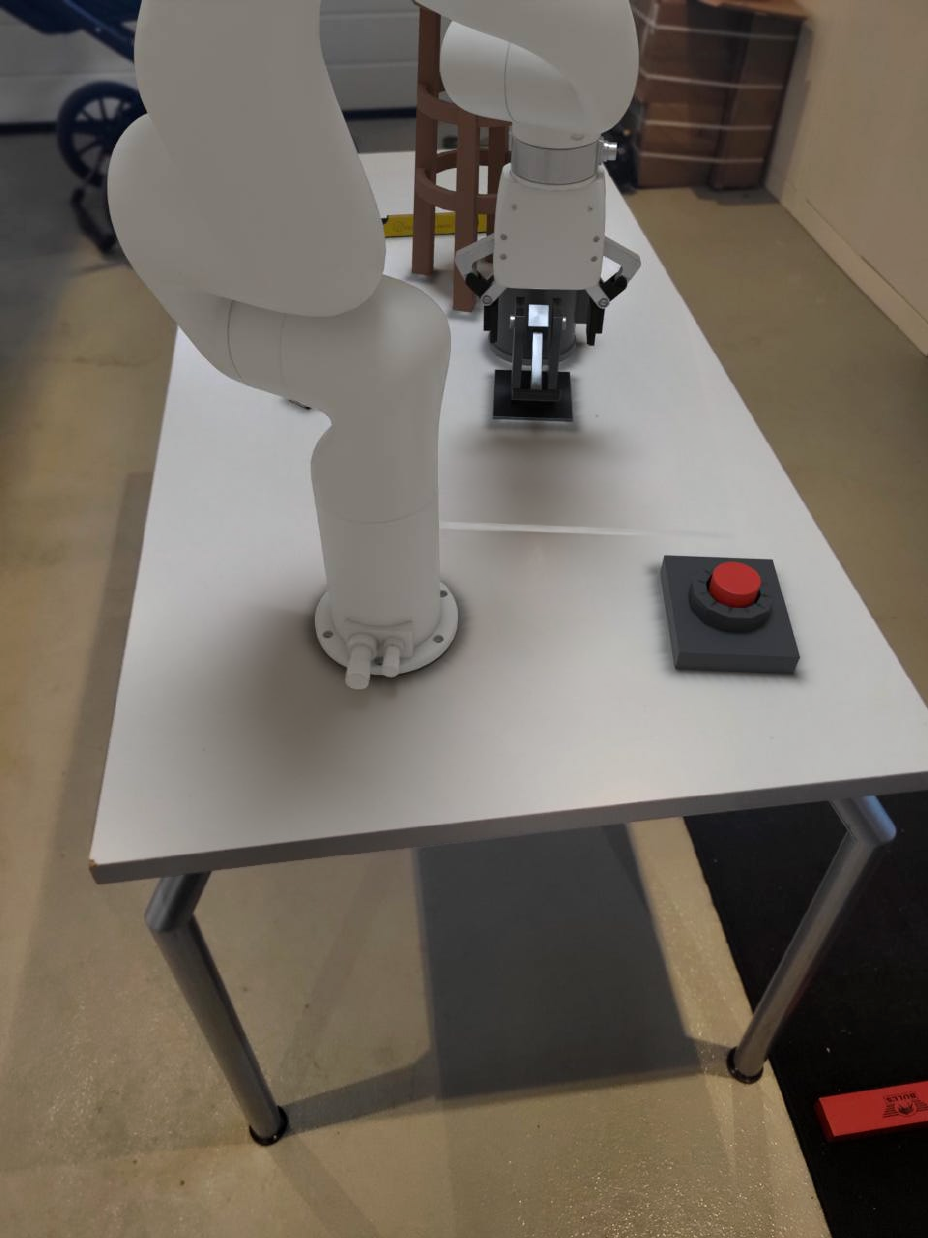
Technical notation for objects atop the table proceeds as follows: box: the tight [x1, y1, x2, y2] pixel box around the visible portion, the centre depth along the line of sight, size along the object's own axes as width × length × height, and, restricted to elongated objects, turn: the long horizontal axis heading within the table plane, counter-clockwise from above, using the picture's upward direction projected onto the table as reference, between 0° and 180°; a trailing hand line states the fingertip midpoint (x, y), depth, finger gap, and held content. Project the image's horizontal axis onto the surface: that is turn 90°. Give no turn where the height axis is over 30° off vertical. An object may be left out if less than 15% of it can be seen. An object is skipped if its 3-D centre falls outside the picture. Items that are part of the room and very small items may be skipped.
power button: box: [709, 562, 761, 608], centre depth 76 cm, size 4×4×2 cm
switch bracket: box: [492, 297, 574, 423], centre depth 99 cm, size 10×9×12 cm
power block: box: [659, 554, 801, 675], centre depth 78 cm, size 12×10×4 cm
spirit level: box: [381, 211, 487, 237], centre depth 132 cm, size 33×1×3 cm, turn 97°
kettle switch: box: [512, 305, 560, 401], centre depth 94 cm, size 11×5×2 cm, turn 177°
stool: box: [411, 0, 512, 313], centre depth 110 cm, size 20×35×20 cm
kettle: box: [487, 223, 590, 367], centre depth 106 cm, size 13×12×17 cm
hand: (541, 337), depth 88 cm, fingers open, 9 cm apart
